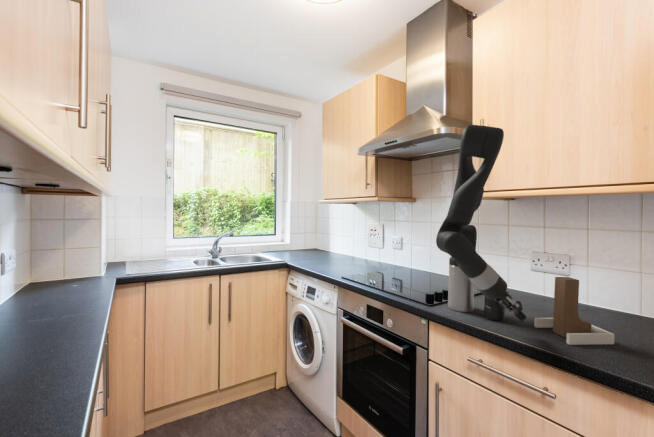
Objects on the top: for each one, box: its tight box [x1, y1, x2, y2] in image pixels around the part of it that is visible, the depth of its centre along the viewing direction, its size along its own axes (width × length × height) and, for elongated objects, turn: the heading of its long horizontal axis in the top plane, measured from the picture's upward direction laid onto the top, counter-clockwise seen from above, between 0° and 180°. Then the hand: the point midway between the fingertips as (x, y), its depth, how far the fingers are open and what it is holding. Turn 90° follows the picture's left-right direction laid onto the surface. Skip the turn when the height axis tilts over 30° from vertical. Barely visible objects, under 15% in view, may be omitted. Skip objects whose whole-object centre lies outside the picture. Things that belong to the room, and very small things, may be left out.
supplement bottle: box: [483, 296, 506, 322], centre depth 112 cm, size 7×7×12 cm
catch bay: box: [533, 317, 615, 346], centre depth 98 cm, size 14×14×3 cm
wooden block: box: [552, 276, 592, 338], centre depth 98 cm, size 9×4×18 cm, turn 92°
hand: (522, 318), depth 97 cm, fingers closed
